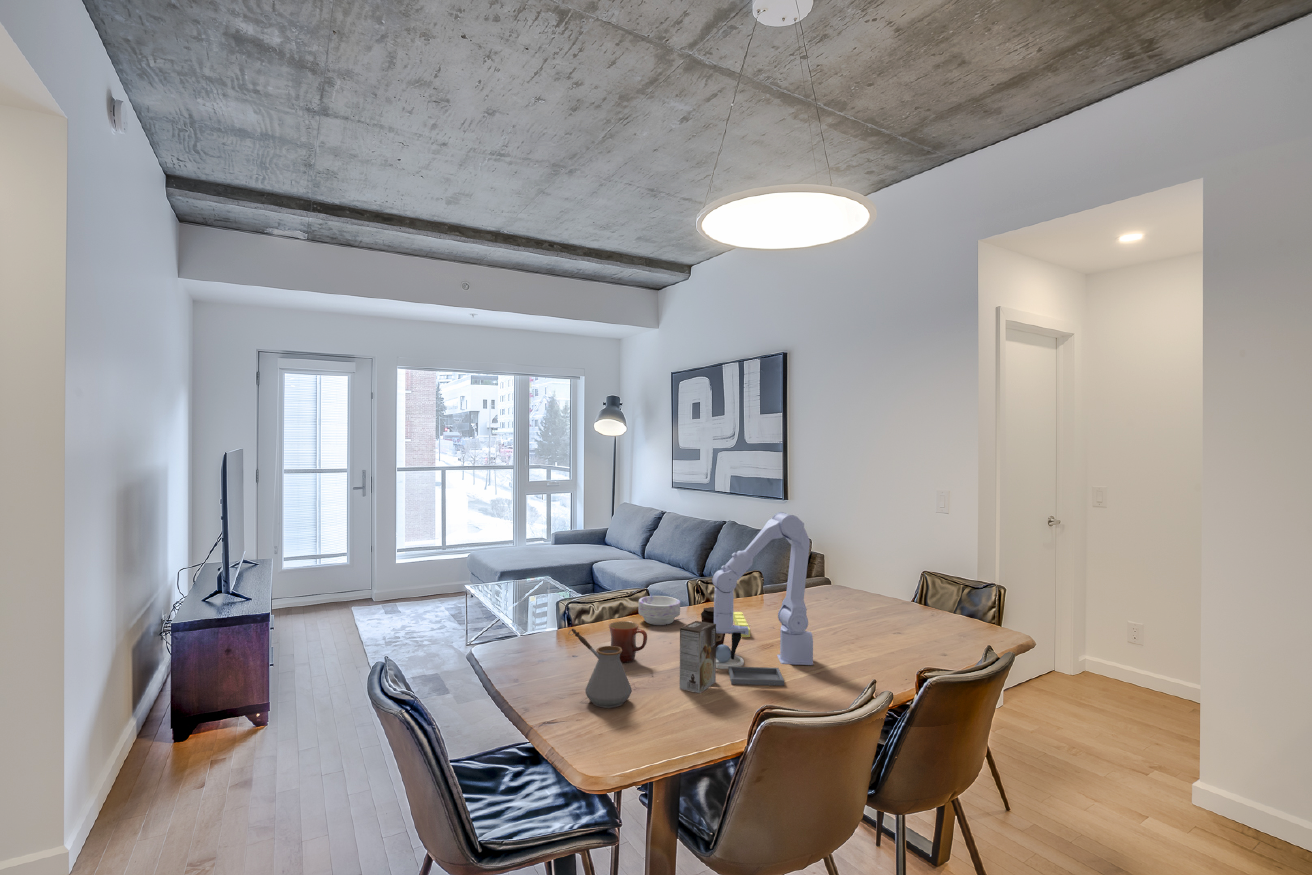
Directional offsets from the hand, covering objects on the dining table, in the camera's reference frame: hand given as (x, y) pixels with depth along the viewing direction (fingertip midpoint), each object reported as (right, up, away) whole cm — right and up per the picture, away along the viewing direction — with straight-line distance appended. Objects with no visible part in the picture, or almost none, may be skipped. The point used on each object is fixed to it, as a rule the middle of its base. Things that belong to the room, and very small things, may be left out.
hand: (722, 658), depth 191 cm
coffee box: (-9, -1, -19) cm, 21 cm away
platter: (+12, -3, +39) cm, 41 cm away
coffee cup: (-2, -2, +12) cm, 12 cm away
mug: (-28, -1, +1) cm, 28 cm away
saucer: (0, -2, 0) cm, 2 cm away
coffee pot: (-35, -1, -27) cm, 44 cm away
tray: (+8, -1, -13) cm, 15 cm away
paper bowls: (-19, -2, +45) cm, 48 cm away
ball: (0, -1, 0) cm, 1 cm away
